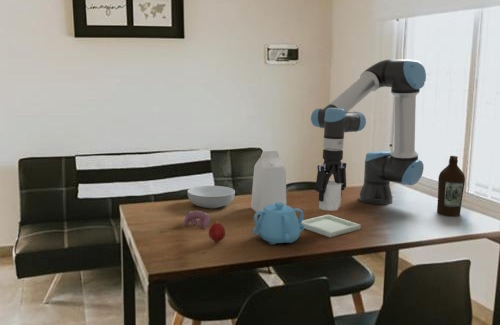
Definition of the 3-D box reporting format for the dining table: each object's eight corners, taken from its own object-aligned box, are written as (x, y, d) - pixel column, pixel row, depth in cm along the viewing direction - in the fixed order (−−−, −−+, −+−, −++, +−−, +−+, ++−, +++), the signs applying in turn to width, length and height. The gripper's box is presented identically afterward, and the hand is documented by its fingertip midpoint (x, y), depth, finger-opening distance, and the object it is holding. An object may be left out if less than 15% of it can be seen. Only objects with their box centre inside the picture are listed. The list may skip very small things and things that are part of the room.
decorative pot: (309, 238, 197) (311, 202, 195) (286, 250, 184) (287, 212, 182) (271, 230, 207) (272, 195, 204) (247, 240, 194) (248, 203, 191)
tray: (328, 218, 222) (328, 214, 222) (360, 229, 209) (360, 224, 209) (298, 225, 212) (298, 221, 211) (330, 237, 199) (330, 232, 198)
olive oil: (432, 209, 239) (437, 153, 235) (457, 210, 239) (462, 154, 234) (439, 216, 229) (444, 158, 224) (465, 217, 228) (470, 159, 224)
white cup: (339, 211, 204) (341, 186, 203) (318, 210, 206) (319, 184, 204) (340, 206, 212) (341, 181, 210) (320, 204, 213) (321, 180, 212)
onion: (208, 240, 193) (208, 218, 192) (224, 239, 194) (225, 218, 192) (208, 245, 188) (208, 223, 186) (225, 245, 188) (225, 223, 187)
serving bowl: (242, 203, 243) (243, 188, 242) (220, 215, 225) (221, 198, 223) (202, 197, 252) (202, 183, 250) (178, 208, 233) (177, 192, 232)
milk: (276, 205, 240) (278, 147, 235) (286, 212, 229) (288, 152, 224) (250, 207, 236) (252, 148, 231) (259, 214, 226) (261, 153, 221)
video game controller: (209, 231, 208) (212, 213, 210) (205, 228, 204) (208, 210, 206) (186, 228, 211) (189, 210, 213) (181, 225, 207) (184, 208, 209)
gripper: (321, 152, 195) (318, 214, 200) (358, 148, 208) (354, 206, 212) (306, 149, 201) (303, 209, 205) (343, 145, 214) (340, 201, 218)
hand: (329, 207), depth 209 cm, fingers closed on white cup, 8 cm apart
